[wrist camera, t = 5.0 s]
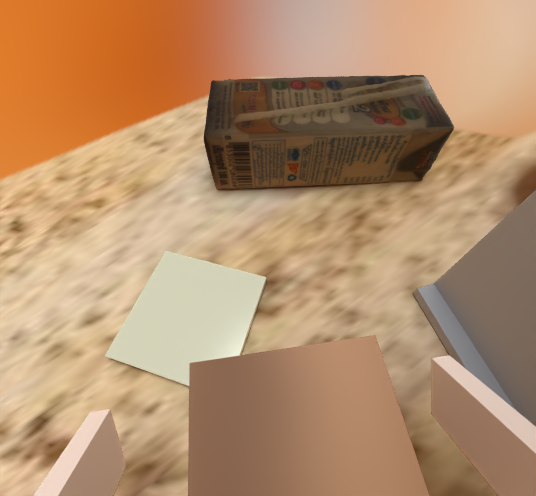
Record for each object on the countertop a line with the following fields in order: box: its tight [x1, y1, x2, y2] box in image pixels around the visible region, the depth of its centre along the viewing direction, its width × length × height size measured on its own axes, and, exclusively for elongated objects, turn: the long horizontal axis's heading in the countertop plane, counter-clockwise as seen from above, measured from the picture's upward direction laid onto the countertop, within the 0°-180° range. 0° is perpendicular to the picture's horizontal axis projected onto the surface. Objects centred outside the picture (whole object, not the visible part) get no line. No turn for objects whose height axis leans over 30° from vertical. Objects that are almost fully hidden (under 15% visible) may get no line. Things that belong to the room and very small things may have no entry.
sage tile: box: [105, 251, 267, 386], centre depth 19 cm, size 8×8×1 cm
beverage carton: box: [204, 75, 454, 189], centre depth 25 cm, size 8×19×7 cm, turn 92°
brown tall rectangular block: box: [188, 335, 429, 496], centre depth 11 cm, size 5×5×11 cm
